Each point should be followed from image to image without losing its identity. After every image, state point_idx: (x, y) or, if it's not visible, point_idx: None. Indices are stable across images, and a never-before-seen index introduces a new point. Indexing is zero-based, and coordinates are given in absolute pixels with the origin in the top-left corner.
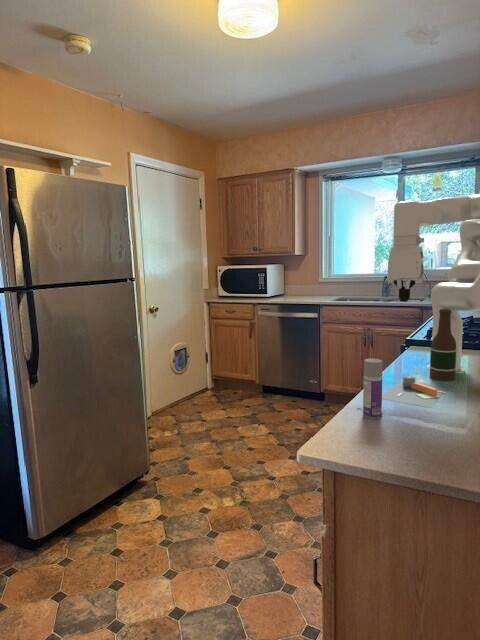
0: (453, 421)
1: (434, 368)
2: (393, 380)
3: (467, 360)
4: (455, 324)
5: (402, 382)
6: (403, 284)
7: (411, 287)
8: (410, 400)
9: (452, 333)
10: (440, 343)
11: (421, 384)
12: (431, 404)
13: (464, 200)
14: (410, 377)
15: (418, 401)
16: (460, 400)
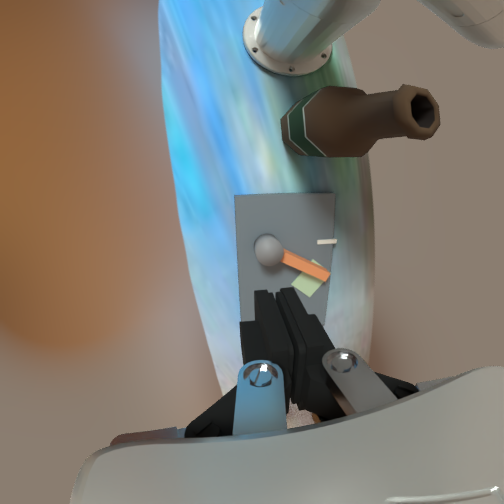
0: (351, 331)
1: (304, 152)
2: (207, 185)
3: None
4: (372, 11)
5: (242, 219)
6: (283, 398)
7: (355, 354)
8: None
9: (351, 25)
10: (346, 155)
11: (299, 263)
12: (323, 312)
13: None
14: (272, 252)
15: None
16: (356, 241)
